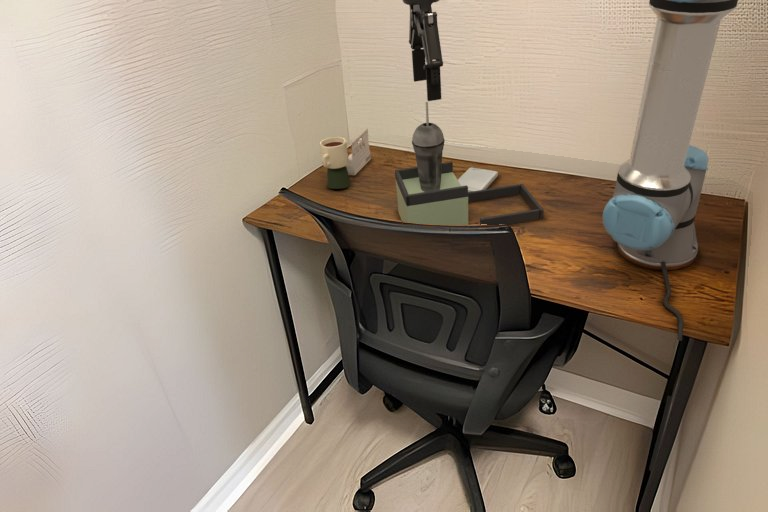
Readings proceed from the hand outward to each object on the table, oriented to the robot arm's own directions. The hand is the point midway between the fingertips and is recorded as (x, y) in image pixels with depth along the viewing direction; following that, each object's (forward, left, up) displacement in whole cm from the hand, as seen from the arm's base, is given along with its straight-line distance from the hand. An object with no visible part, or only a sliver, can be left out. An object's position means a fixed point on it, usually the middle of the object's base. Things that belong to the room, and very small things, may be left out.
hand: (426, 89), depth 124 cm
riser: (0, -9, -32) cm, 33 cm away
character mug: (+26, +20, -32) cm, 46 cm away
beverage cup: (0, 0, -23) cm, 23 cm away
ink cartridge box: (+36, +13, -32) cm, 50 cm away
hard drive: (+15, -15, -32) cm, 39 cm away
